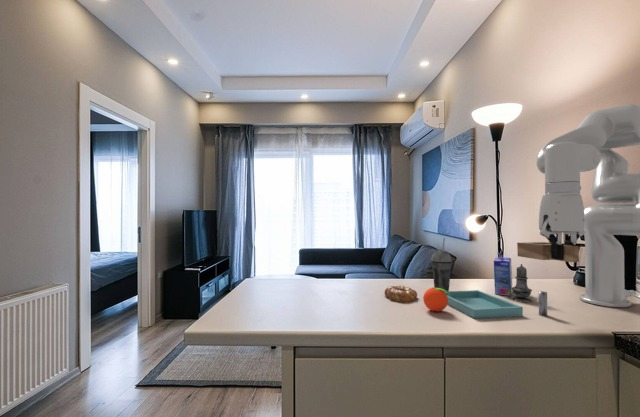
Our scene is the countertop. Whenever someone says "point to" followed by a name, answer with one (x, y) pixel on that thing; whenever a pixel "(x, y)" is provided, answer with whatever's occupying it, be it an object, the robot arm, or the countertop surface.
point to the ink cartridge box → (503, 276)
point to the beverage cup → (441, 268)
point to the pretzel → (401, 293)
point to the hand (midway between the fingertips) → (562, 258)
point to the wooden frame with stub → (546, 251)
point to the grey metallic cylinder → (542, 303)
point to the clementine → (435, 299)
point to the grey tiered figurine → (521, 285)
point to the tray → (482, 305)
